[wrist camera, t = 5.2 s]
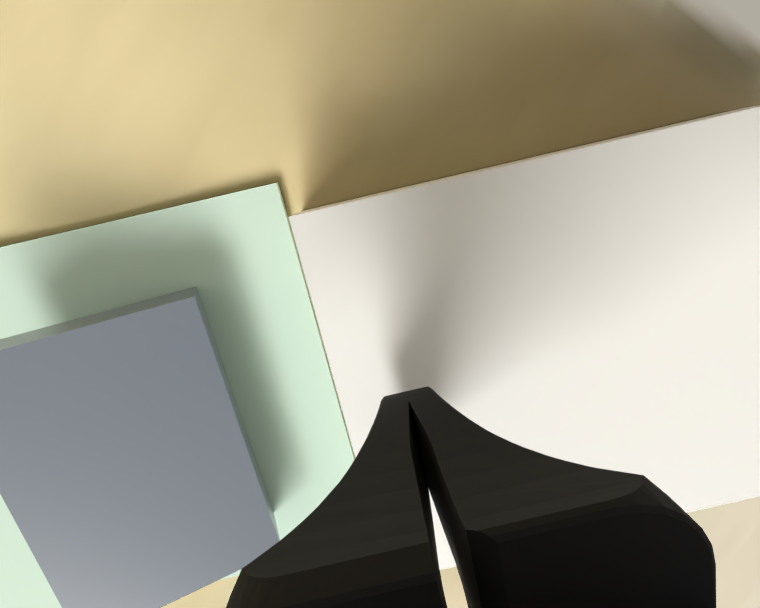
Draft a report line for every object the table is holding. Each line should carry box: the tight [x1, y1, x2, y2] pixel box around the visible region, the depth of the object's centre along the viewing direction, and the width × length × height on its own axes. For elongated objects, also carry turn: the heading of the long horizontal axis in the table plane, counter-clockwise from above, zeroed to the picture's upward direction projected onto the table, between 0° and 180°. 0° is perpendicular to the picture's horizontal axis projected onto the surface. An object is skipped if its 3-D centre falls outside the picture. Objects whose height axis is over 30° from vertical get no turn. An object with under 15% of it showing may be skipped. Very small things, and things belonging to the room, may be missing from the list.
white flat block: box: [289, 105, 760, 570], centre depth 14 cm, size 14×12×3 cm
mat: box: [0, 183, 355, 608], centre depth 15 cm, size 16×14×1 cm
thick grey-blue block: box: [0, 287, 280, 608], centre depth 13 cm, size 6×9×2 cm, turn 12°
